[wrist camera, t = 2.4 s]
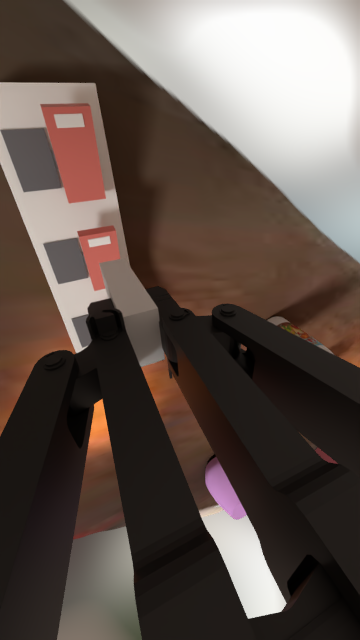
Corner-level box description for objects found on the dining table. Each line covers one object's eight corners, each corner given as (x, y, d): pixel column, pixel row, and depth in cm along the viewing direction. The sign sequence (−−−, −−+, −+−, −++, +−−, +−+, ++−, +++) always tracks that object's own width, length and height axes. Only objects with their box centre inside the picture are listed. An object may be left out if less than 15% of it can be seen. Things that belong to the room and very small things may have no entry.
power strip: (91, 380, 40) (95, 403, 37) (-20, 94, 21) (-37, 78, 17) (144, 362, 43) (153, 382, 39) (89, 93, 24) (97, 79, 20)
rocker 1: (67, 198, 23) (68, 203, 23) (39, 103, 18) (41, 107, 17) (103, 194, 24) (106, 199, 24) (87, 103, 19) (90, 106, 18)
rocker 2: (92, 285, 28) (94, 291, 28) (76, 231, 23) (79, 237, 22) (121, 278, 29) (124, 284, 29) (113, 225, 24) (116, 231, 23)
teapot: (208, 489, 82) (234, 543, 70) (195, 462, 69) (224, 523, 57) (265, 453, 86) (298, 498, 74) (263, 421, 73) (302, 471, 62)
